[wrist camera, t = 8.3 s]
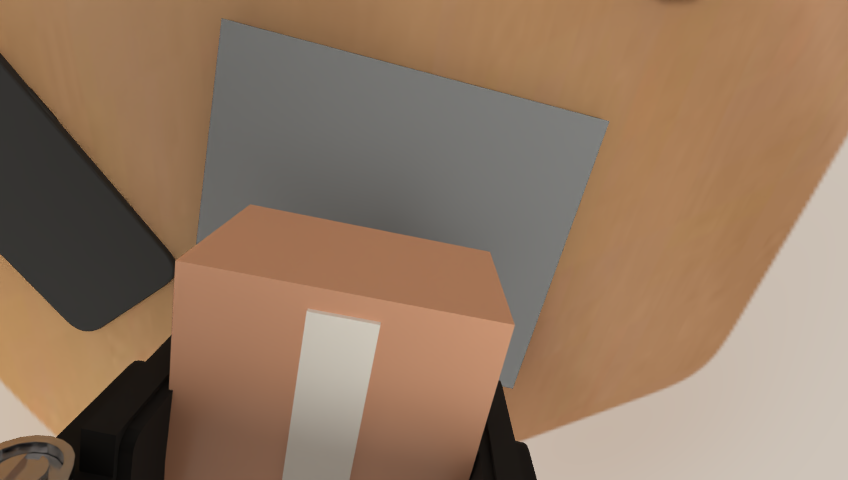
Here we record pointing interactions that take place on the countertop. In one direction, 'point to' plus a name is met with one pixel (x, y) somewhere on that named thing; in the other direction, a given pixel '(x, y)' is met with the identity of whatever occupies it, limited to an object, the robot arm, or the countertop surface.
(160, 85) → the countertop surface
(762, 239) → the countertop surface
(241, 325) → the striped peach box
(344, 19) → the countertop surface
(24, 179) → the phone
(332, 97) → the rubber mat
